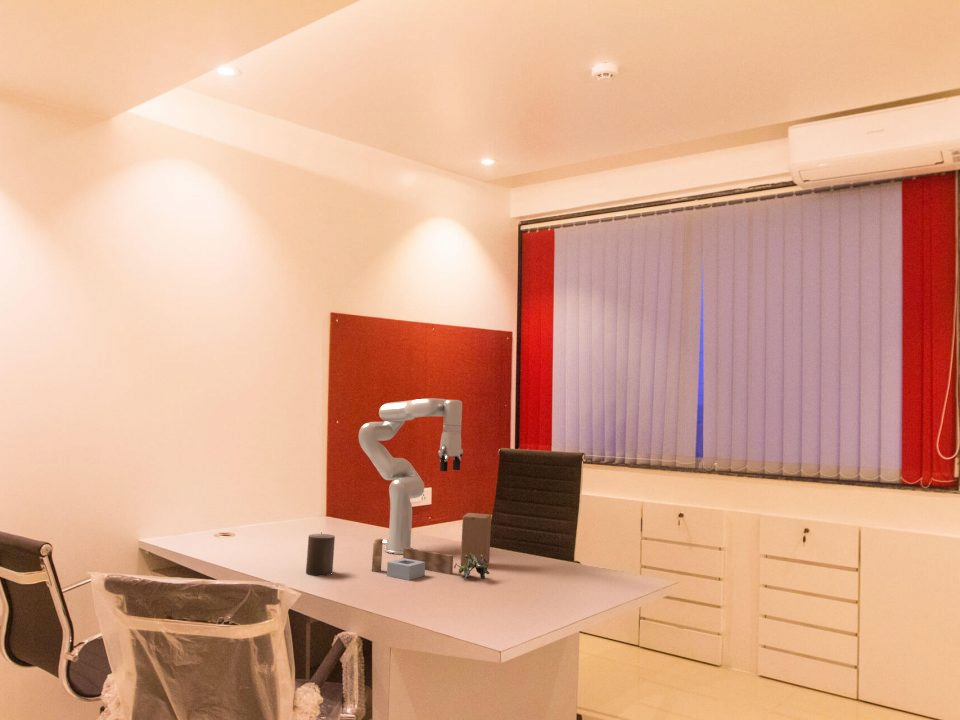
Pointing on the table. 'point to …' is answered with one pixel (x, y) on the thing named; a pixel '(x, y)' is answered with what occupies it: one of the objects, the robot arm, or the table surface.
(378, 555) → the oak dowel
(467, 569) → the passion flower
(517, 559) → the table surface
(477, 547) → the wooden block
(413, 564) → the socket block
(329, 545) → the pillar candle
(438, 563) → the walnut wall
